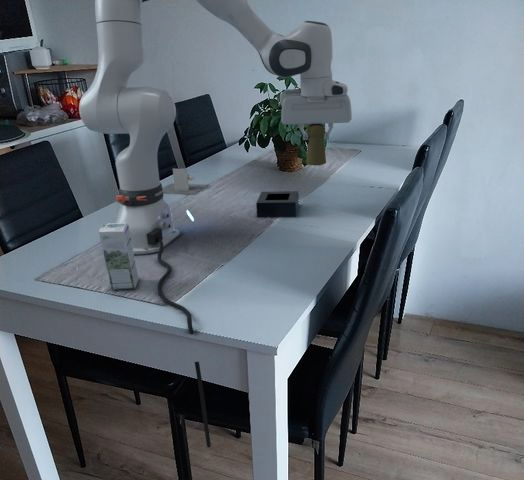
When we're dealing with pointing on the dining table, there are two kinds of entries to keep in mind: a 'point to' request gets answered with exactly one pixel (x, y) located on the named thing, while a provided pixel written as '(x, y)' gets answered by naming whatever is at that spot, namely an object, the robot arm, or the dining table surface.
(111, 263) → the syrup box
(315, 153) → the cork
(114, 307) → the dining table surface
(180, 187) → the architectural model
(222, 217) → the dining table surface
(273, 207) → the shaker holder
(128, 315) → the dining table surface
